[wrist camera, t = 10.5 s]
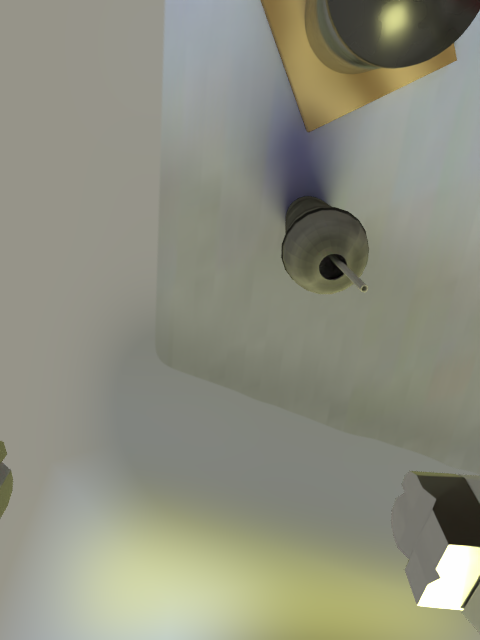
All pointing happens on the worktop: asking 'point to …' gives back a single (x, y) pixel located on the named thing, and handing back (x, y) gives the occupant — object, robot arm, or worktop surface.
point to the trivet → (325, 84)
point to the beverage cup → (324, 247)
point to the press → (384, 31)
